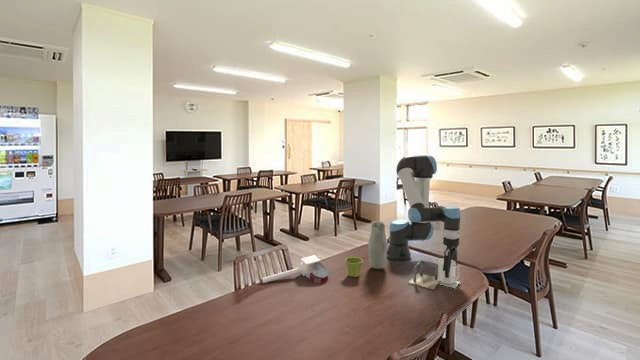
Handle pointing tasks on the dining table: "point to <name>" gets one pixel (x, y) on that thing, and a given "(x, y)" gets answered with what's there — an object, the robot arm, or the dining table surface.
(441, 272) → the cup
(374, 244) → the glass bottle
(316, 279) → the canned food
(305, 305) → the dining table surface
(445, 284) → the pad
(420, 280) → the wire board
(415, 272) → the bent wire
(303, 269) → the white handled tool
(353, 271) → the plant pot
